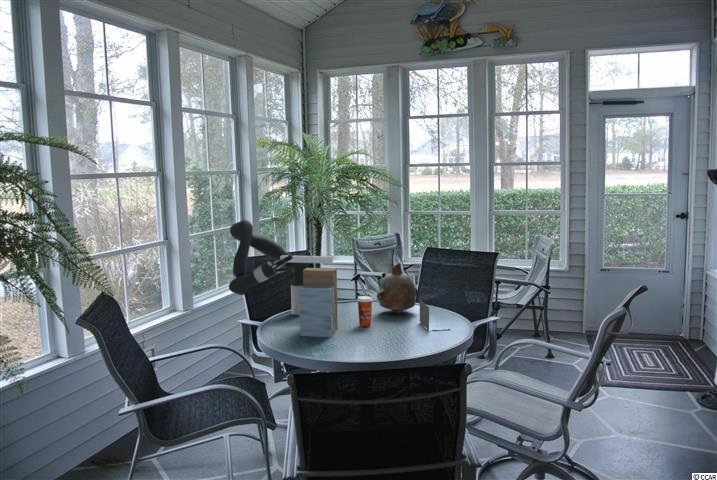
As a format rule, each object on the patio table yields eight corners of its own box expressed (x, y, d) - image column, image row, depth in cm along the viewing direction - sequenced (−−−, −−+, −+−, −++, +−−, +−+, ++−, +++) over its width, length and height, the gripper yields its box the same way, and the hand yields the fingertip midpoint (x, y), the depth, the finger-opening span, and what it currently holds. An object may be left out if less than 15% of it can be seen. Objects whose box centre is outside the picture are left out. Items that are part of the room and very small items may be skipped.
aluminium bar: (282, 261, 289) (282, 255, 289) (332, 262, 285) (332, 256, 284) (280, 262, 286) (280, 256, 285) (331, 263, 281) (331, 257, 281)
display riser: (307, 328, 300) (306, 267, 297) (337, 329, 298) (336, 268, 294) (300, 335, 286) (298, 272, 282) (331, 337, 283) (330, 273, 279)
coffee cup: (361, 327, 300) (361, 299, 298) (354, 324, 307) (354, 297, 305) (375, 325, 303) (375, 298, 302) (368, 322, 311) (368, 295, 309)
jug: (392, 306, 347) (392, 258, 344) (423, 311, 335) (423, 260, 331) (369, 315, 328) (369, 263, 324) (401, 320, 315) (401, 266, 312)
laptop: (451, 331, 294) (452, 306, 292) (428, 332, 292) (428, 307, 291) (441, 322, 312) (441, 298, 310) (419, 323, 310) (419, 299, 308)
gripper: (256, 267, 283) (285, 251, 279) (265, 263, 296) (293, 247, 293) (263, 280, 283) (292, 264, 279) (272, 276, 296) (300, 260, 293)
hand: (292, 256), depth 286 cm, fingers closed on aluminium bar, 3 cm apart
